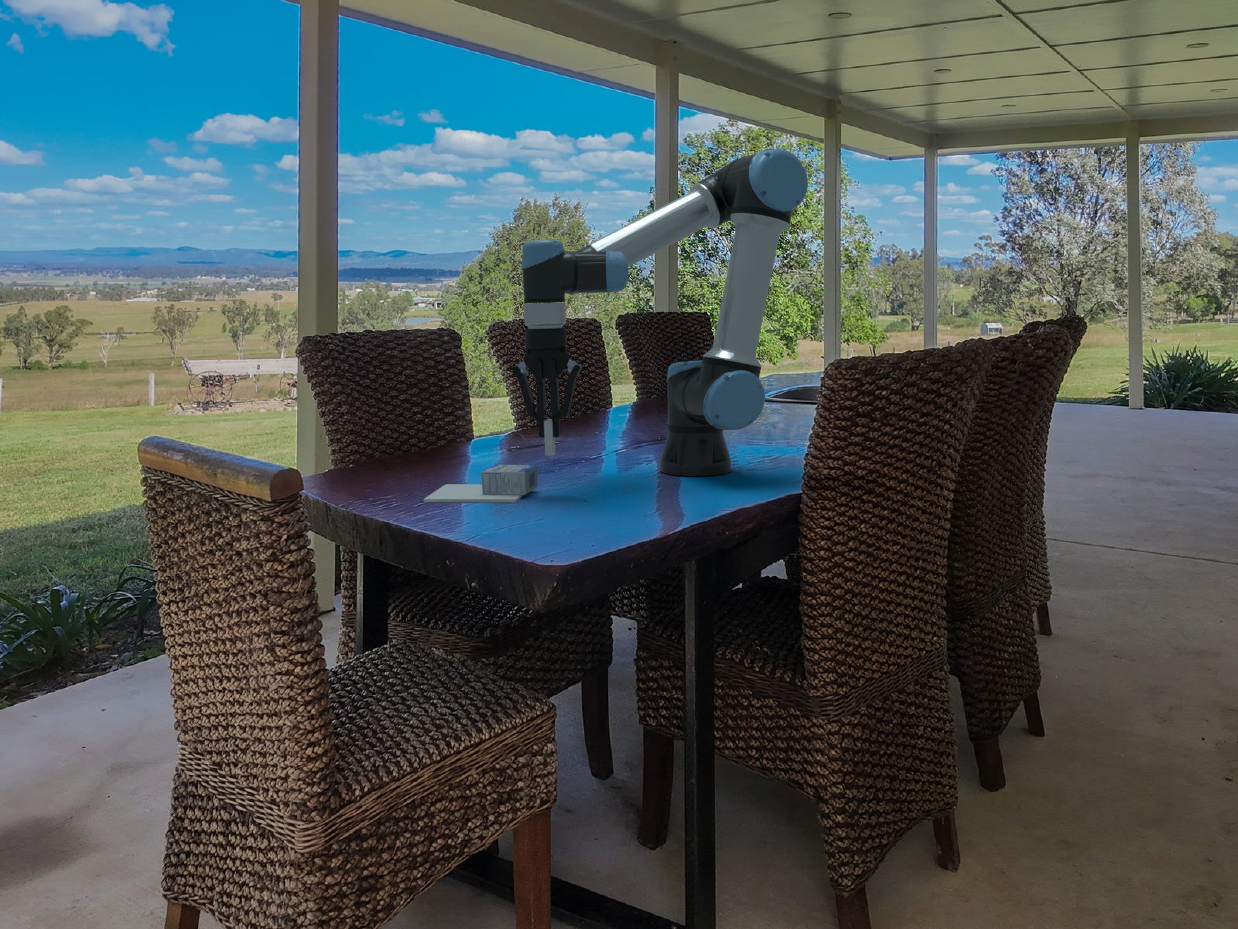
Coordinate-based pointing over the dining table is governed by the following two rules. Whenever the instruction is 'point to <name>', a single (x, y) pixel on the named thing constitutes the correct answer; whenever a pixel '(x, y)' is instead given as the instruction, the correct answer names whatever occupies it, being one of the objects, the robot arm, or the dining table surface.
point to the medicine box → (509, 479)
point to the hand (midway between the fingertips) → (550, 454)
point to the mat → (468, 495)
